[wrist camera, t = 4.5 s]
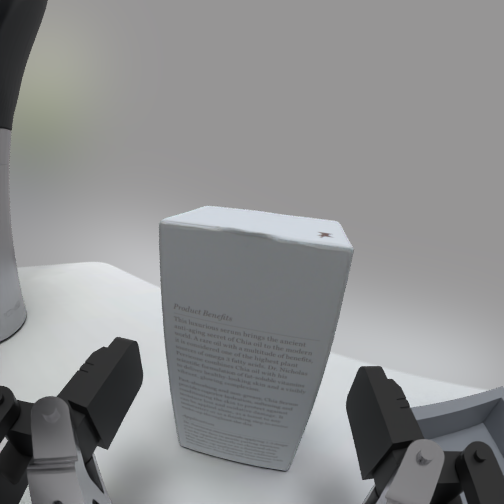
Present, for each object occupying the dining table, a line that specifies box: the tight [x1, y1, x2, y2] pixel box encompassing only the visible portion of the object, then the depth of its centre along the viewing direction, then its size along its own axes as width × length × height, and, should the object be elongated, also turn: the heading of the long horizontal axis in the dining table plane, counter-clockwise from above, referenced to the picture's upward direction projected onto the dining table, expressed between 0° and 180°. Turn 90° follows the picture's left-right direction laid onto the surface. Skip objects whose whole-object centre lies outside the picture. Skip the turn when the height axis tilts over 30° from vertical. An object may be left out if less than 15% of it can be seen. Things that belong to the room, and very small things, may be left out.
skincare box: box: [159, 206, 354, 471], centre depth 11 cm, size 6×4×12 cm
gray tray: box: [411, 387, 504, 504], centre depth 8 cm, size 10×9×3 cm
